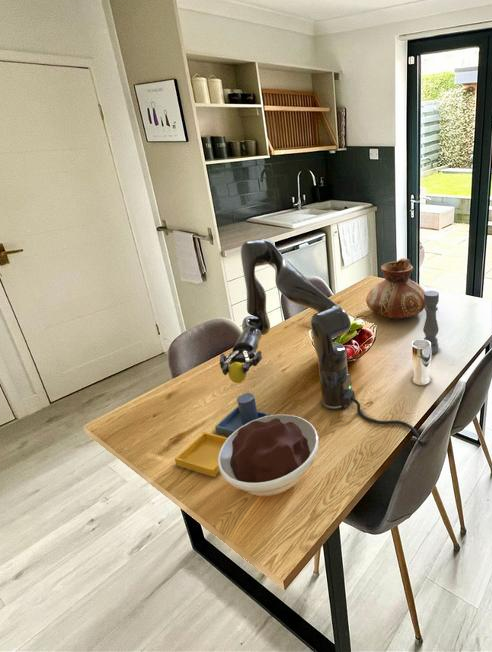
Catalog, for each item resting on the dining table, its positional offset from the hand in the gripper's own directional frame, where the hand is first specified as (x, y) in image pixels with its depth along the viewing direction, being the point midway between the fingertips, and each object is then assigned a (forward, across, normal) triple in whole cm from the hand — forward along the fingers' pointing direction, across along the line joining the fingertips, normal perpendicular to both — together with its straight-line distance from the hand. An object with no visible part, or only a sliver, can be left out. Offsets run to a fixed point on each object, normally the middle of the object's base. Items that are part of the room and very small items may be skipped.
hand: (234, 371), depth 127 cm
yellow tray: (+22, -4, +14) cm, 26 cm away
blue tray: (+10, +3, +14) cm, 17 cm away
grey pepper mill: (-28, +69, +14) cm, 76 cm away
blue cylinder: (+8, +5, +13) cm, 17 cm away
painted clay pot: (-67, +60, +14) cm, 91 cm away
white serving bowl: (+30, +16, +14) cm, 37 cm away
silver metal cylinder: (-7, +61, +14) cm, 63 cm away
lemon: (-3, 0, +6) cm, 7 cm away
